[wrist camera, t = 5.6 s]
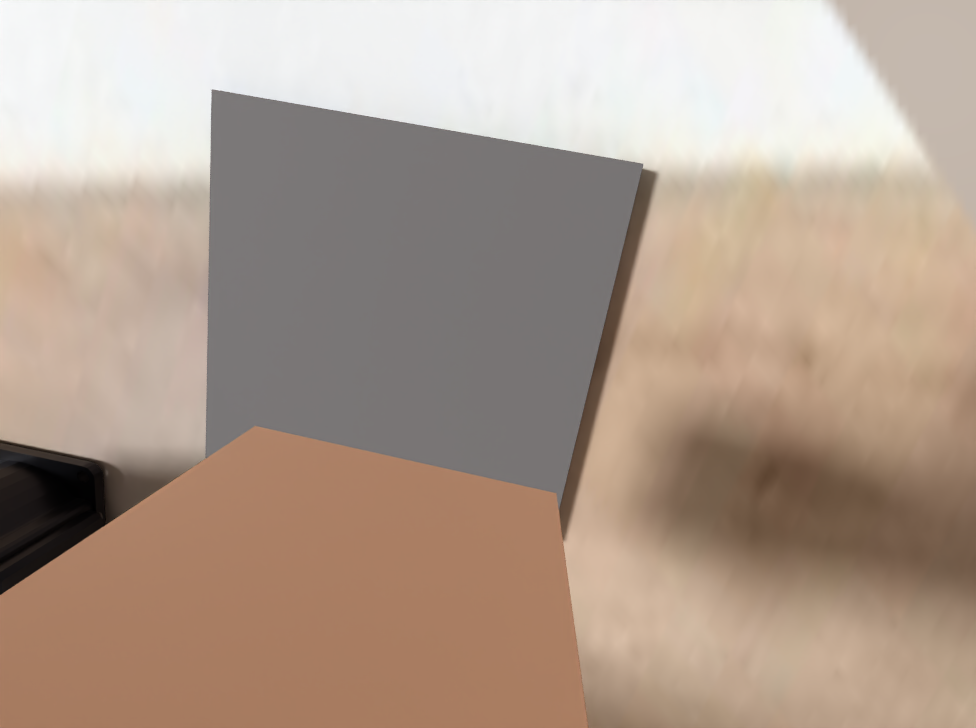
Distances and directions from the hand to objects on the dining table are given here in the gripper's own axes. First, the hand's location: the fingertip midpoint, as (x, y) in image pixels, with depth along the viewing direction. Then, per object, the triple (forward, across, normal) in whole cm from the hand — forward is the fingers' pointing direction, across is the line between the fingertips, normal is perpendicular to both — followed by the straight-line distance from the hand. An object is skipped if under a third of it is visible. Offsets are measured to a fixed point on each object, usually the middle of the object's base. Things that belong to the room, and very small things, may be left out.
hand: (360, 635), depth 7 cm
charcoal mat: (+11, +2, -2) cm, 11 cm away
